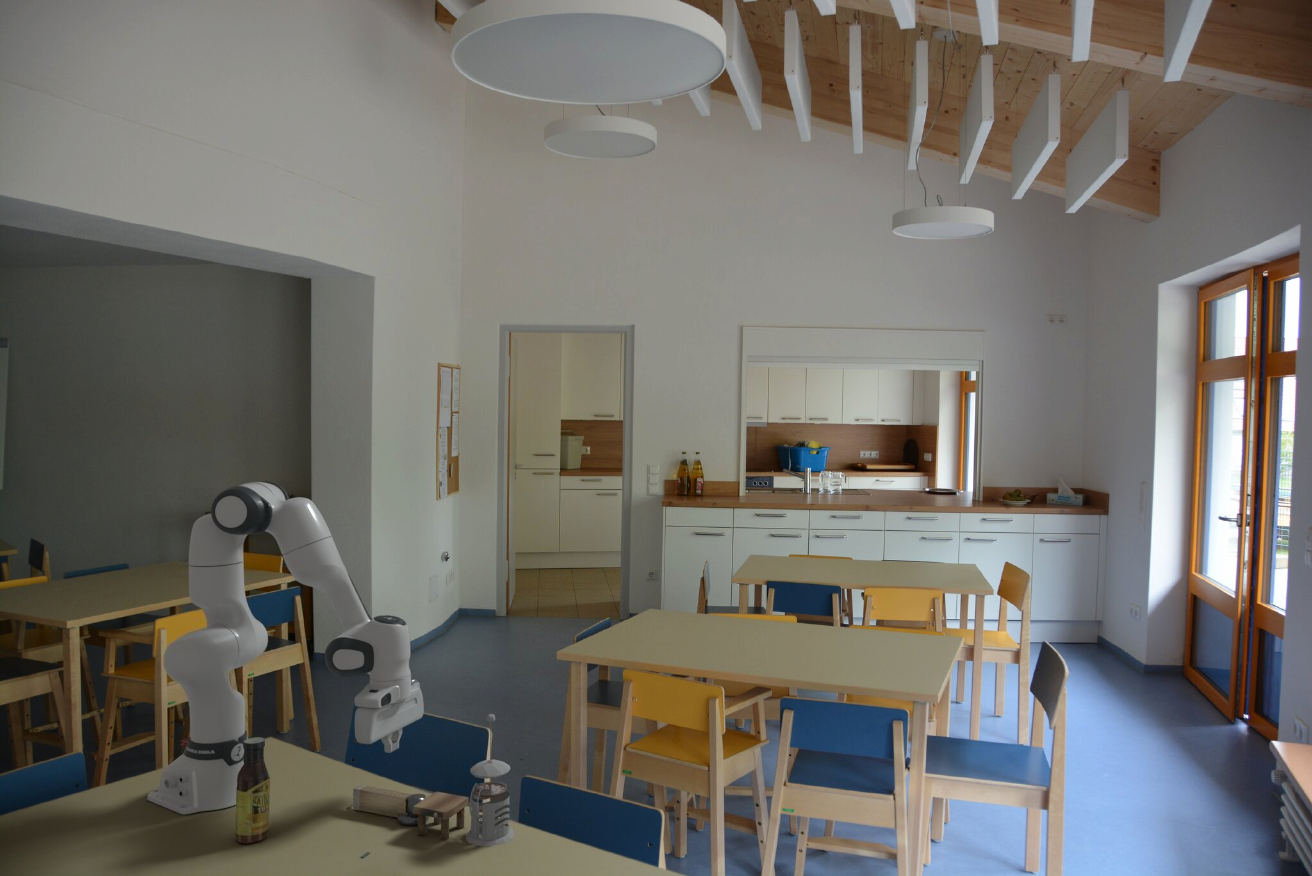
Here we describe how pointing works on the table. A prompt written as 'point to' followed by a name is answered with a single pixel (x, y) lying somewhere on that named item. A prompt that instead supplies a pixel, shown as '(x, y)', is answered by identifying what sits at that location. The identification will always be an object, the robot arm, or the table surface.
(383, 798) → the cam lever
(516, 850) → the table surface
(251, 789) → the sauce bottle
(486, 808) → the french press
